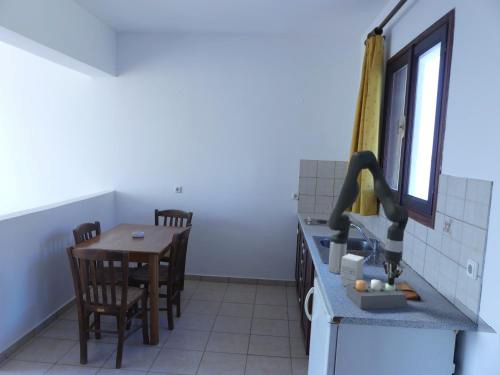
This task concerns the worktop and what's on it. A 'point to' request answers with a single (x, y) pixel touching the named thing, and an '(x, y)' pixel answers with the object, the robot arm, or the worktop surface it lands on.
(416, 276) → the worktop surface
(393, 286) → the mint green oval piece
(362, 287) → the beige rounded piece
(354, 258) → the supplement box
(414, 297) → the sunglasses case
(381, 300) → the grey holder tray
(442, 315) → the worktop surface
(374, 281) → the white egg-shaped piece
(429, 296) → the worktop surface
